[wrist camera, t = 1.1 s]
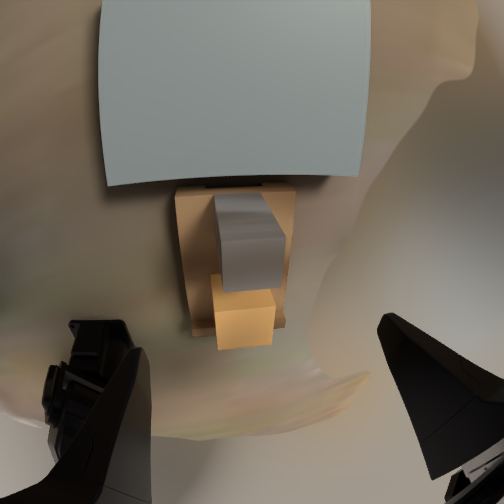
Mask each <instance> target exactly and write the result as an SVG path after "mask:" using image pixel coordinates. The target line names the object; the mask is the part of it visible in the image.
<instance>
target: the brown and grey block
mask: <svg viewBox="0 0 504 504" xmlns="http://www.w3.org/2000/svg"><path fill="white" fill-rule="evenodd" d="M296 194H297V191H296V190H295V189H294V188H293V187H292V186H291V185H290V184H289V183H288V182H261V186H254V187H229V188H210V189H205V185H194V186H181V187H177V189H176V194H175V205H176V215H177V225H178V234H179V242H180V250H181V258H182V266H183V273H184V280H185V287H186V293H187V299H188V306H189V312H190V318H191V330H192V336H193V337H200V336H212V335H216V328H215V320H214V310H213V299H212V286H211V275H213V274H221V280H222V287H223V293H230V292H241V291H252V290H262V289H270V290H271V293H272V296H273V299H274V302H275V304H276V311H275V319H274V328H273V329H277V328H284V327H285V321H286V319H285V316H284V314H283V306H284V299H285V291H286V284H287V276H288V268H289V259H290V251H291V242H292V233H293V224H294V214H295V204H296Z"/></svg>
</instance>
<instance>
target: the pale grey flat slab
mask: <svg viewBox="0 0 504 504" xmlns="http://www.w3.org/2000/svg"><path fill="white" fill-rule="evenodd" d="M370 46H371V13H370V0H103V1H102V10H101V20H100V33H99V56H98V87H99V111H100V125H101V137H102V146H103V155H104V163H105V171H106V177H107V184H108V186H115V185H123V184H131V183H140V182H150V181H160V180H171V179H183V178H198V177H215V176H237V175H337V176H359V169H360V162H361V155H362V148H363V140H364V131H365V122H366V113H367V101H368V89H369V72H370Z"/></svg>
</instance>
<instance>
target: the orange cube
mask: <svg viewBox="0 0 504 504" xmlns="http://www.w3.org/2000/svg"><path fill="white" fill-rule="evenodd" d="M211 286H212V299H213V310H214V320H215V328H216V337H217V345H218V350H226V349H236V348H245V347H253V346H261V345H269V344H272V336H273V328H274V319H275V311H276V304H275V302H274V299H273V296H272V293H271V290H270V289H262V290H252V291H241V292H230V293H223V287H222V280H221V274H213V275H211Z"/></svg>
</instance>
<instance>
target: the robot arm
mask: <svg viewBox="0 0 504 504" xmlns="http://www.w3.org/2000/svg"><path fill="white" fill-rule="evenodd" d="M68 326H69V328H70V330H71V332H72V333H73V335H74V337H75V340H74V344H73V347H72V350H71V358H70V361H69V365H67V363H65V362H63V361H61V363H60V364H59V366H57V365H56V366H55V365H50V367H49V369H48V373H47V376H46V380H45V384H44V389H43V396H42V403H41V404H42V406H43V408H44V410H45V423H46V424H47V425H49V426H50V430H49V436H48V445H49V448H50V450H51V453H52V456H53V458H54V461H55V463H56V464H55V466H54V467H53V468H52V470H51V471H50V473H49V474H48V475H47V476H46V477H45V478H44V479H43V480H42V481H40V482H39V483H37V484H35V485H32V486H30V487H28V488H26V489H23V490H21V491H19V492H16V493H14V494H11V495H9V496H6V497H3V498H0V504H151V503H152V498H151V466H150V444H151V443H150V442H151V407H152V404H151V388H150V367H149V362H148V359H147V357H146V354H145V352H144V350H143V348H141V347H135V346H134V344H133V341H132V339H131V337H130V334H129V332H128V329H127V327H126V324H125V322H124V321H122V320H71V321H70V322H69V325H68ZM377 334H378V337H379V340H380V343H381V346H382V349H383V352H384V355H385V358H386V361H387V364H388V366H389V369H390V371H391V373H392V375H393V378H394V380H395V382H396V385H397V387H398V390H399V392H400V394H401V397H402V399H403V401H404V404H405V407H406V409H407V412H408V414H409V417H410V420H411V422H412V425H413V428H414V430H415V433H416V436H417V438H418V441H419V443H420V447H421V450H422V453H423V456H424V459H425V462H426V465H427V468H428V471H429V474H430V477H431V480H435V479H437V478H439V477H441V476H443V475H445V474H447V473H449V472H450V471H452V470H454V469H456V468H458V467H460V466H461V467H462V469H460V470H459V471H458V472H456V473H455V474H454V475H452V476H451V480H450V483H449V486H448V489H447V492H446V494H445V501H446V503H445V504H504V379H502V378H499V377H498V376H496V375H494V374H492V373H490V372H488V371H486V370H484V369H482V368H481V367H479V366H477V365H475V364H474V363H472V362H470V361H469V360H467V359H465V358H464V357H462V356H461V355H458V353H456V352H455V351H453V350H452V349H450V348H448V347H447V346H445V345H444V344H442V343H441V342H439V341H438V340H436V339H434V338H433V337H431V336H430V335H428V334H426V333H425V332H423V331H422V330H420V329H419V328H417V327H415V326H414V325H412V324H411V323H409V322H407V321H406V320H404V319H403V318H401V317H399V316H398V315H396V314H395V313H387V314H384V315H383V316H382V318H381V321H380V323H379V325H378V328H377Z"/></svg>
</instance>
